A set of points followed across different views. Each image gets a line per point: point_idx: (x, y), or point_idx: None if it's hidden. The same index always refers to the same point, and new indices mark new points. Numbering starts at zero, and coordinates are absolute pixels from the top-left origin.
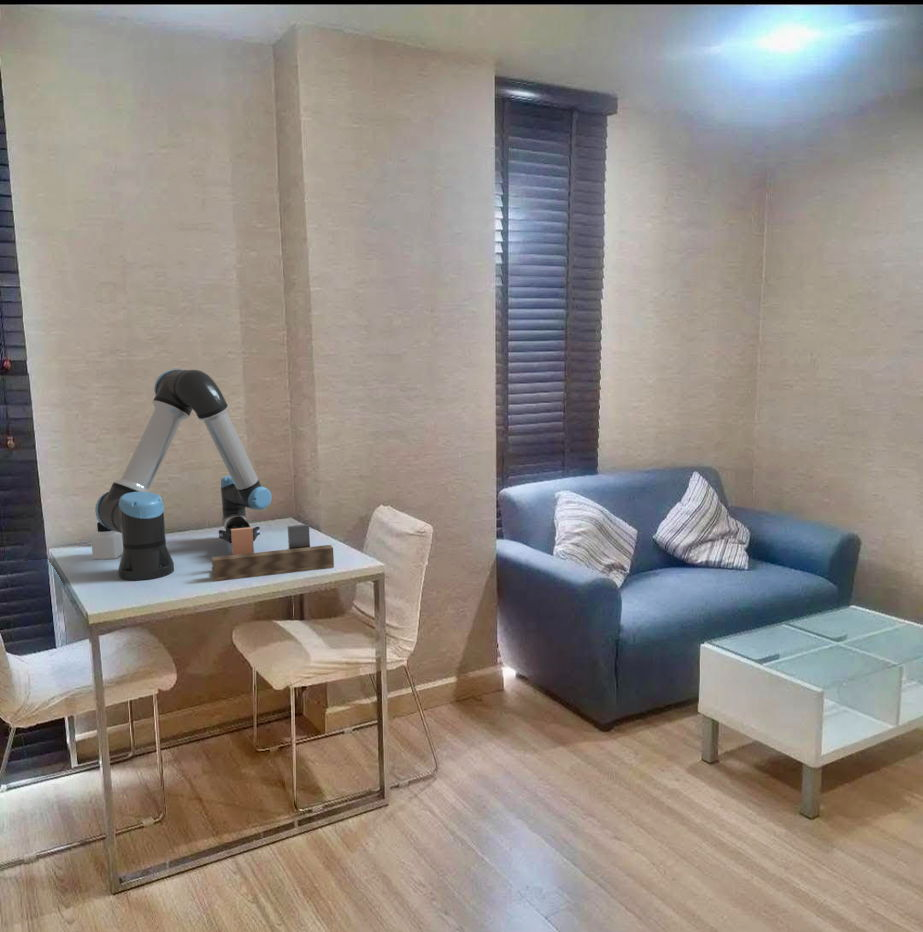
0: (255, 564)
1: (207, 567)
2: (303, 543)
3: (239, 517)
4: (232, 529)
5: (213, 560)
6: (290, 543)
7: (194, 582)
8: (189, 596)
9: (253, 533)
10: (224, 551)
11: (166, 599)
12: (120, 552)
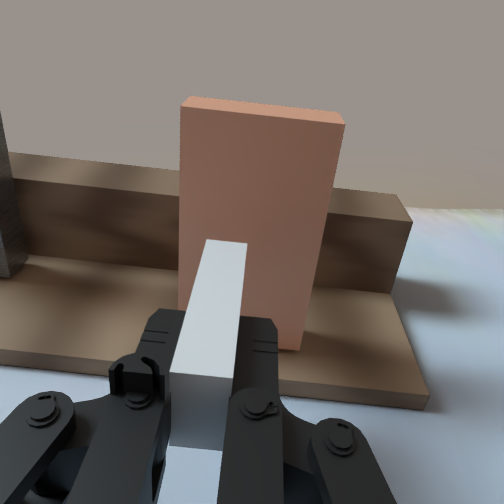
0: None
1: (481, 498)
2: None
3: None
4: (331, 118)
5: (393, 195)
6: (3, 158)
7: (453, 292)
8: (422, 215)
9: (30, 400)
10: None
11: (481, 221)
12: None
